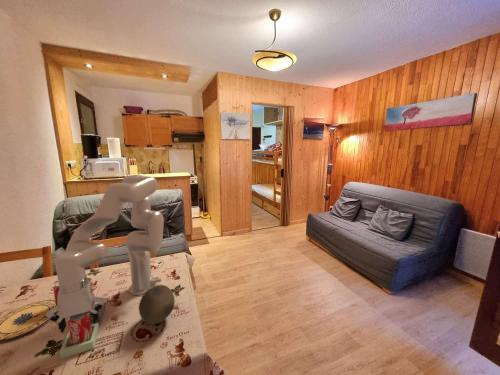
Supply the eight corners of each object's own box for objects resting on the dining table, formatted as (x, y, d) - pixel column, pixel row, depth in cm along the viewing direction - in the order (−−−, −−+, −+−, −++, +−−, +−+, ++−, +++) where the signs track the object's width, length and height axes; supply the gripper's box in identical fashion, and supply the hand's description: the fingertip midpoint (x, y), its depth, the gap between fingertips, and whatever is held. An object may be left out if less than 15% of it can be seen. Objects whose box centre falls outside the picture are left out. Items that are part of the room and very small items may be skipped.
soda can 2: (96, 339, 82) (92, 312, 80) (76, 352, 76) (72, 324, 74) (88, 332, 85) (84, 306, 83) (68, 344, 79) (64, 316, 77)
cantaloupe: (136, 337, 83) (133, 303, 80) (144, 311, 96) (141, 281, 94) (174, 329, 87) (172, 297, 84) (176, 305, 100) (175, 276, 98)
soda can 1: (64, 312, 95) (61, 288, 93) (52, 309, 96) (48, 285, 94) (80, 301, 102) (76, 278, 100) (68, 299, 103) (64, 276, 101)
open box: (105, 307, 98) (104, 302, 97) (93, 348, 78) (92, 341, 77) (79, 314, 94) (79, 308, 93) (60, 358, 74) (59, 351, 73)
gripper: (104, 273, 83) (109, 311, 86) (46, 284, 76) (54, 325, 79) (100, 284, 76) (105, 324, 80) (36, 298, 69) (45, 342, 72)
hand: (80, 325), depth 79 cm, fingers open, 9 cm apart
